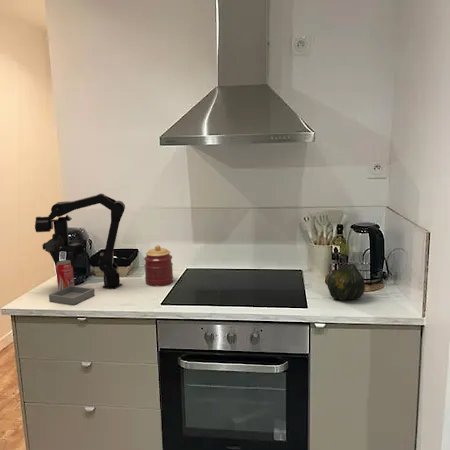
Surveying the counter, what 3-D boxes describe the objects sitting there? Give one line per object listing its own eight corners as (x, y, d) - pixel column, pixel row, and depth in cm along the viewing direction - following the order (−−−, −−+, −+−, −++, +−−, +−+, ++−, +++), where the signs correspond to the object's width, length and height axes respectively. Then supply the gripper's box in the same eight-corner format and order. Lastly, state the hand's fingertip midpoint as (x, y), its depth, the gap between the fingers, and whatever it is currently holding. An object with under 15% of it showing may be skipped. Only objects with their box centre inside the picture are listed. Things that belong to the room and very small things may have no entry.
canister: (161, 288, 213) (159, 249, 209) (139, 284, 219) (137, 246, 216) (179, 280, 223) (177, 243, 220) (157, 276, 230) (155, 241, 227)
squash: (314, 284, 195) (337, 261, 186) (334, 277, 205) (356, 255, 197) (336, 312, 189) (360, 290, 180) (355, 304, 199) (379, 282, 191)
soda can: (77, 287, 217) (74, 259, 215) (70, 292, 210) (68, 264, 208) (62, 287, 218) (59, 259, 215) (55, 292, 211) (52, 263, 208)
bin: (94, 295, 205) (94, 288, 204) (73, 305, 193) (73, 298, 193) (71, 292, 210) (70, 285, 210) (49, 301, 199) (48, 294, 198)
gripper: (31, 233, 206) (35, 268, 209) (64, 236, 198) (67, 272, 201) (50, 228, 216) (53, 261, 219) (82, 230, 208) (85, 265, 211)
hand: (64, 265), depth 212 cm, fingers open, 9 cm apart
